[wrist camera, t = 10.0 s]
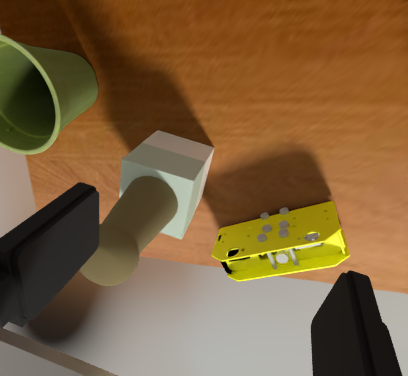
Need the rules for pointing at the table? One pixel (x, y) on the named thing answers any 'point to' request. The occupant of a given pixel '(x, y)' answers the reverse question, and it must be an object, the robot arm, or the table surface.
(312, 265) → the yellow toy chassis
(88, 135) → the table surface
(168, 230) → the block top
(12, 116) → the plant pot
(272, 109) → the table surface
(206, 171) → the block bottom
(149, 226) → the cork
